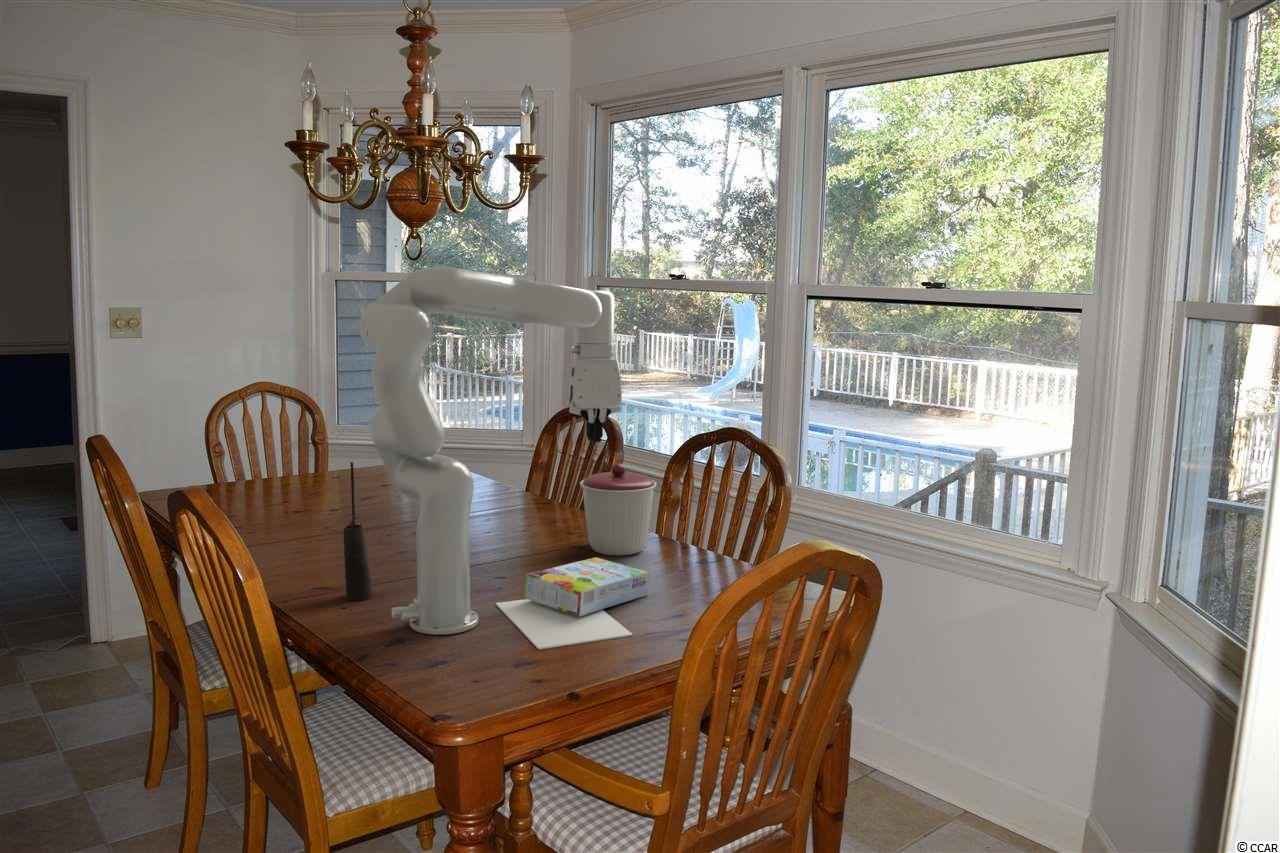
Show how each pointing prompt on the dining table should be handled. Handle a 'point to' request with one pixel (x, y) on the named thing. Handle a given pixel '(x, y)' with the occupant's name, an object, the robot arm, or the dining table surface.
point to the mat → (560, 624)
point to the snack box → (586, 586)
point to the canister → (617, 510)
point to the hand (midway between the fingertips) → (594, 441)
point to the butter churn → (356, 558)
